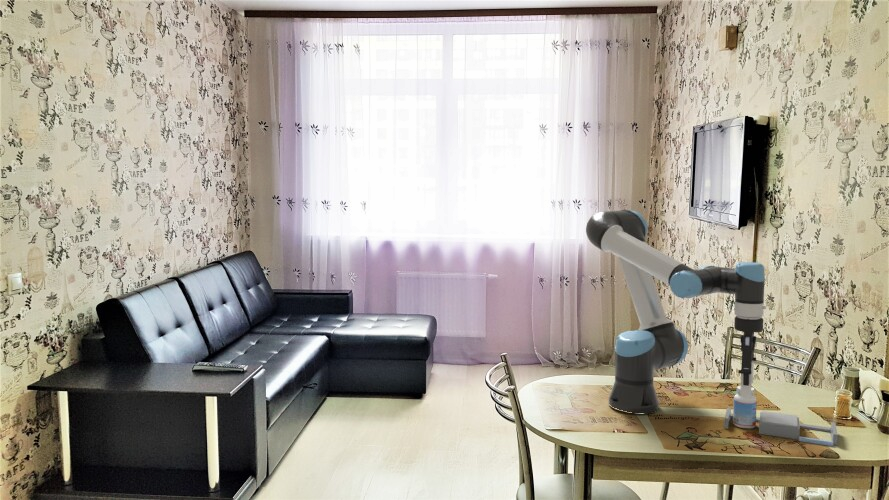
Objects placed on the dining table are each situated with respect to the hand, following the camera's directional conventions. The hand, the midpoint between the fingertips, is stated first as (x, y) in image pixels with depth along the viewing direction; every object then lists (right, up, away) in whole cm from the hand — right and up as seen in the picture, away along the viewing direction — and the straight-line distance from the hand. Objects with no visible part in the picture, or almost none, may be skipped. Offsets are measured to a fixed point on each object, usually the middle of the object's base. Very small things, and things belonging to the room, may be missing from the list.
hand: (747, 389), depth 190 cm
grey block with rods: (+8, -11, -3) cm, 14 cm away
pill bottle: (0, -11, +2) cm, 11 cm away
